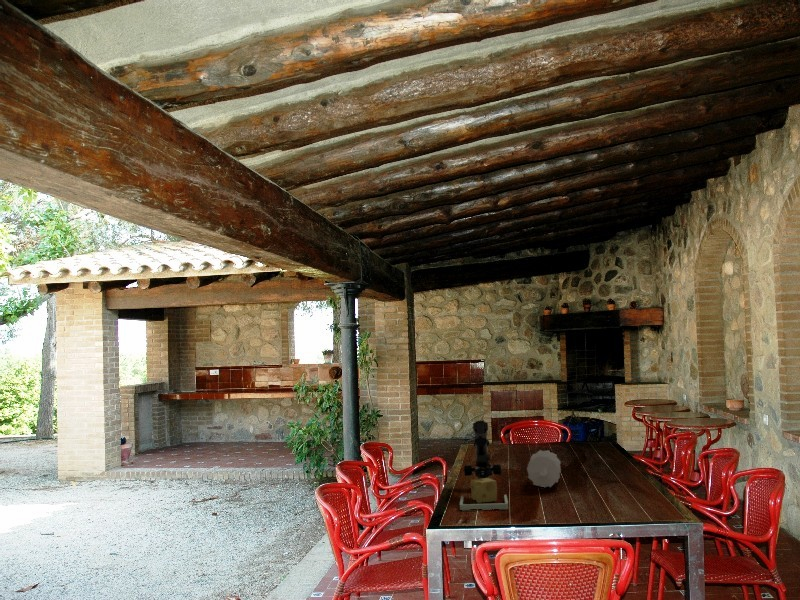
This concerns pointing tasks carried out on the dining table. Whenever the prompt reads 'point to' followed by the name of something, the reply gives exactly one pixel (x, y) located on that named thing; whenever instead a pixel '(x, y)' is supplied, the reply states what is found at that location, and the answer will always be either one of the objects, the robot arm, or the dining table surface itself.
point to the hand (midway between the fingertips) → (483, 483)
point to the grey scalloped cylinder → (544, 468)
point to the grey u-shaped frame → (484, 505)
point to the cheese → (484, 490)
